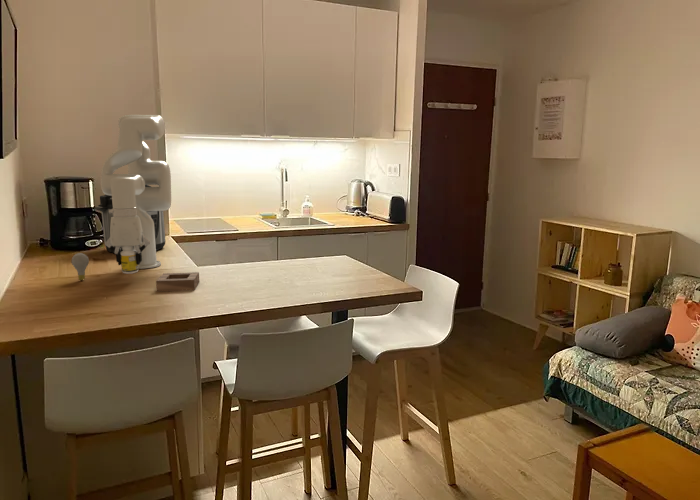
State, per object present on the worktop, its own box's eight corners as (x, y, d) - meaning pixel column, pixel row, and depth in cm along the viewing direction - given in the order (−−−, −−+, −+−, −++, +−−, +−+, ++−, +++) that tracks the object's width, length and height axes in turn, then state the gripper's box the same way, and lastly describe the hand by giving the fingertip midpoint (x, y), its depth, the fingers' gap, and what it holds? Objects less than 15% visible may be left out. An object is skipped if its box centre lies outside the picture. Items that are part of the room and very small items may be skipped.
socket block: (164, 283, 192) (163, 273, 191) (199, 282, 194) (198, 272, 193) (156, 291, 180) (156, 281, 180) (194, 290, 182) (193, 279, 181)
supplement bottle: (119, 272, 194) (116, 244, 192) (134, 269, 198) (131, 242, 196) (126, 274, 191) (124, 247, 188) (141, 271, 194) (139, 244, 192)
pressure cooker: (94, 256, 245) (88, 184, 240) (108, 246, 273) (102, 181, 267) (165, 253, 251) (160, 183, 246) (171, 244, 279) (167, 180, 273)
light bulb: (83, 282, 194) (81, 254, 192) (70, 282, 195) (67, 254, 193) (93, 279, 199) (91, 252, 197) (80, 278, 200) (77, 251, 199)
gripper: (95, 214, 185) (100, 267, 189) (148, 214, 187) (152, 265, 191) (102, 211, 192) (107, 262, 196) (153, 210, 194) (157, 260, 198)
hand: (129, 263), depth 194 cm, fingers closed on supplement bottle, 5 cm apart
